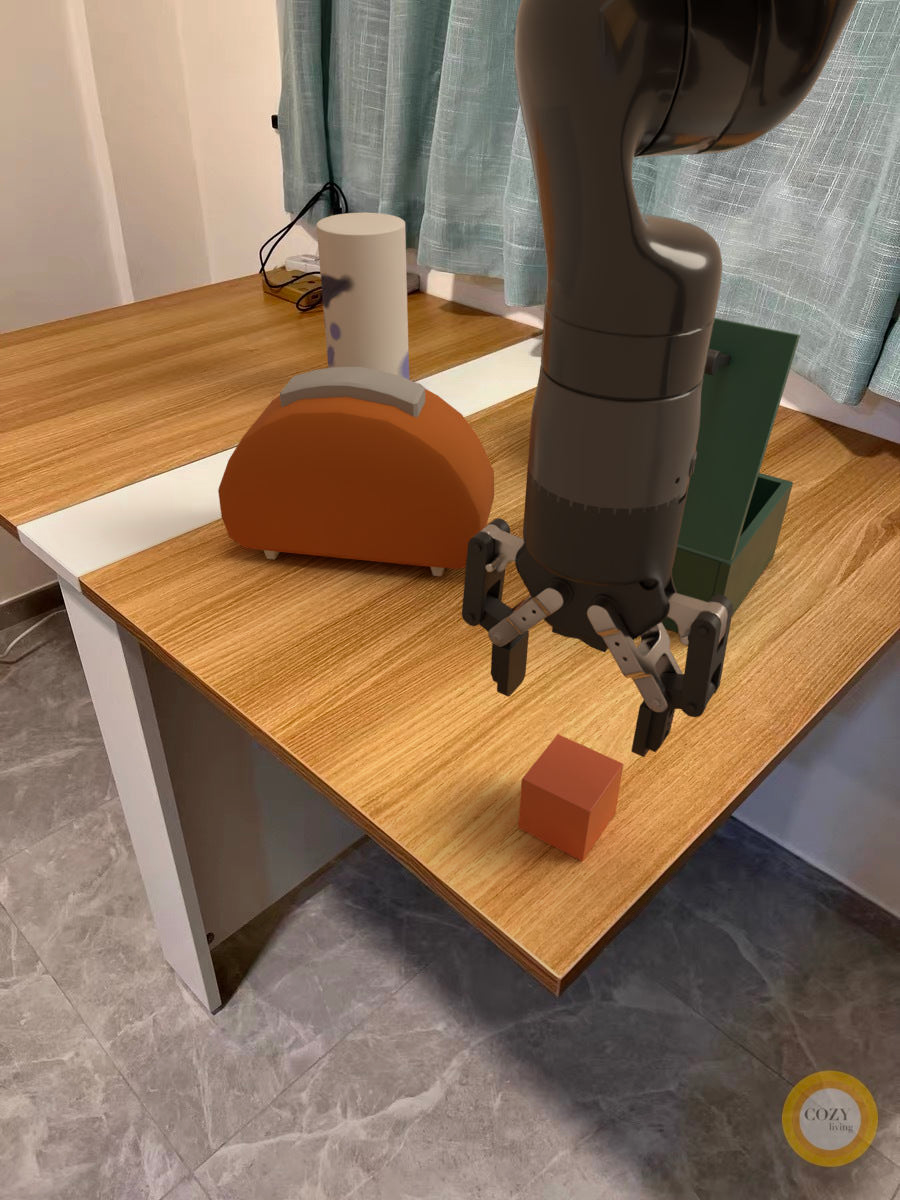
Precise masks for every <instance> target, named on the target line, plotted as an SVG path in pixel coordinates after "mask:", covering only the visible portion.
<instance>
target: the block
mask: <svg viewBox="0 0 900 1200" xmlns="http://www.w3.org/2000/svg"><path fill="white" fill-rule="evenodd" d="M623 770H624V763H622V762H621V761H619V760H616V759H614V758H612V757H610V756H608V755H605V754H603V753H601V752H599V751H596V750H594V749H592V748H590V747H587V746H585V745H584V744H581V743H579V742H577V741H574V740H572V739H570V738H568V737H565V736H563V735H562V734H559V733H558V734H557V735H556V736H555V737H554V738H553V740H551V742H550V743H549V744H548V746H547V747H546V748H545V749H544V751H542V753H541V754H540V756H539V757H538V758H537V760H535V762H534V763H533V764H532V766H530V768H529V769H528V770H527V772H526V773H525V774H524V775H523V776H522V778H521V785H520V797H519V798H520V799H519V809H518V810H519V812H518V823H517V824H518V825H517V826H518V827H517V829H519V830H521V831H523V832H525V833H527V834H528V835H531V836H532V837H534V838H536V839H538V840H540V841H542V842H544V843H546V844H548V845H550V846H552V847H554V848H556V849H557V850H559V851H561V852H563V853H565V854H567V855H569V856H571V857H573V858H575V859H576V860H579V861H581V862H584V861H585V859H586V858H587V856H588V855H589V853H590V852H591V850H592V849H593V847H594V845H596V843H597V841H598V840H599V838H600V836H601V835H602V834H603V832H604V831H605V830H606V828H607V826H608V825H609V823H610V822H611V821H612V819H613V817H614V816H615V815H616V810H617V805H618V799H619V795H620V794H619V793H620V787H621V782H622V778H623V777H622V776H623Z"/></svg>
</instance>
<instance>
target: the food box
mask: <svg viewBox="0 0 900 1200" xmlns="http://www.w3.org/2000/svg"><path fill="white" fill-rule="evenodd" d="M793 484H794V482H793V481H792V480H788V479H783V478H780V477H777V476H773V475H770V474H765V473H761V472H759V475H758V478H757V481H756V485H755V488H754V492H753V495H752V498H751V502H750V505H749V508H748V512H747V515H746V518H745V522H744V525H743V528H742V532H741V535H740V538H739V542H738V545H737V548H736V552H735V555H734V558H733V559H732V560H731V561H729V560H726V559H722V558H719V557H716V556H713V555H710V554H707V553H704V552H701V551H698V550H695V549H692V548H689V547H685V546H682V545H679V544H677V549H676V554H675V559H674V563H673V568H672V579H673V583H674V585H675V588H676V591H677V593H679V594H682V595H685V596H689V597H692V598H696V599H699V600H702V601H706V602H708V601H709V599H710V598H711V597H712V596H714V595H724V596H726V597H727V598H729V599H730V600H731V602H732V604H733V612H732V617H731V619H732V618H733V616H734V615H735V613H736V612H737V610H738V609H739V608H740V606H741V605H742V603H743V602H744V600H745V598H746V597H747V596H748V595H749V593H750V592H751V590H752V588H754V586H755V584H756V583H757V581H758V580H759V579H760V578H761V576H762V575H763V573H764V571H765V570H766V568H767V567H768V565H769V564H770V562H771V561H772V560H773V558H774V556H775V554H776V549H777V546H778V542H779V537H780V533H781V530H782V526H783V523H784V519H785V516H786V512H787V507H788V504H789V500H790V496H791V492H792V488H793ZM662 624H663V626H664V627H665V629H666V630H669V631H672V632H675V633H678V626H677V624H676V623H675V622H674V621H673V620H672V619H671V618H669V617H666V618H665V619H664V620H663V621H662ZM678 634H679V633H678Z"/></svg>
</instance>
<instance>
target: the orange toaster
mask: <svg viewBox="0 0 900 1200" xmlns="http://www.w3.org/2000/svg"><path fill="white" fill-rule="evenodd" d="M217 490H218V491H217V492H218V493H217V494H218V499H219V508H220V516H221V520H222V522H223V524H224V528H225V530H226V532H227V535H228V537H229V538H230V539H231V540H232V541H234V542H236V543H237V544H238V545H240V546H241V547H242V548H244V549H245V548H247V549H254V550H260V551H263V552H264V555H265V557H266V559H267V560H273V561H274V560H276V559H277V557H278V555H279V554H280V553H288V554H289V553H290V554H299V555H308V556H317V557H318V556H319V557H329V558H339V559H348V560H359V561H369V562H378V563H390V564H398V565H399V564H400V565H409V566H419V567H427V568H430V571H431V574H432V576H434V577H442V576H443V574H444V571H445V569H456V570H457V569H458V570H461V569H463V568H466V561H467V550H468V542H469V540H470V539H471V538H472V537H474V536H475V535H476V534H477V533H478V532H480V531H481V530H482V529H483V528H484V527H486V526H487V525H488V523H489V522H488V521H489V518H490V514H491V511H492V506H493V503H494V499H495V470H494V468H493V466H492V463H491V461H490V460H489V457H488V455H487V452H486V450H485V448H484V446H483V443H482V442H481V439H480V437H479V436H478V435H477V433H476V432H475V431H474V429H473V428H472V426H471V425H470V424H469V422H468V421H467V419H466V418H465V417H464V415H463V414H462V413H461V412H459V411H458V410H457V409H456V408H455V407H453V406H452V405H451V404H449V402H447V401H446V400H445V399H443V398H442V397H440V396H439V395H437V394H436V393H434V392H432V391H430V390H429V389H427V388H426V386H424V385H422V384H420V383H418V382H416V381H414V380H412V379H410V378H409V379H406V378H404V377H401V376H398V375H394V374H391V373H387V372H384V371H380V370H375V369H368V368H361V367H332V368H329V367H326V368H320V369H313V370H310V371H306V372H303V373H300V374H296V375H293V376H292V377H291V378H290V380H288V382H287V383H286V384H285V386H284V387H283V388H282V389H281V390H280V392H279V395H278V396H277V397H275V398H273V399H272V400H271V401H270V403H269V404H267V407H266V408H265V409H264V410H263V411H262V413H261V414H260V415H258V417H257V418H256V420H255V421H253V424H252V425H251V426H250V428H248V430H247V431H246V432H245V433H244V435H243V436H242V437H241V439H240V440H239V442H238V444H237V445H236V447H235V449H234V450H233V452H232V454H231V455H230V457H229V458H228V460H227V464H226V466H225V469H224V472H223V475H222V478H221V481H220V483H219V487H218V489H217Z"/></svg>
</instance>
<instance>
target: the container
mask: <svg viewBox="0 0 900 1200" xmlns="http://www.w3.org/2000/svg"><path fill="white" fill-rule="evenodd" d="M316 237H317V247H318V248H317V250H318V261H319V272H320V283H321V297H322V308H323V309H322V310H323V321H324V333H325V345H326V355H327V357H326V358H327V368H332V367H361V368H368V369H375V370H380V371H384V372H387V373H391V374H394V375H398V376H401V377H404V378H406V379H409V380H410V356H409V355H410V353H409V325H408V324H409V319H408V318H409V316H408V315H409V313H408V282H407V281H408V280H407V279H408V278H407V244H406V243H407V242H406V241H407V240H406V221H405V220H404V219H403V218H401V217H400V216H397V215H392V214H387V213H380V212H347V213H339V214H334V215H330V216H327V217H324V218H321V219H320V220H318V222H316Z"/></svg>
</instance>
